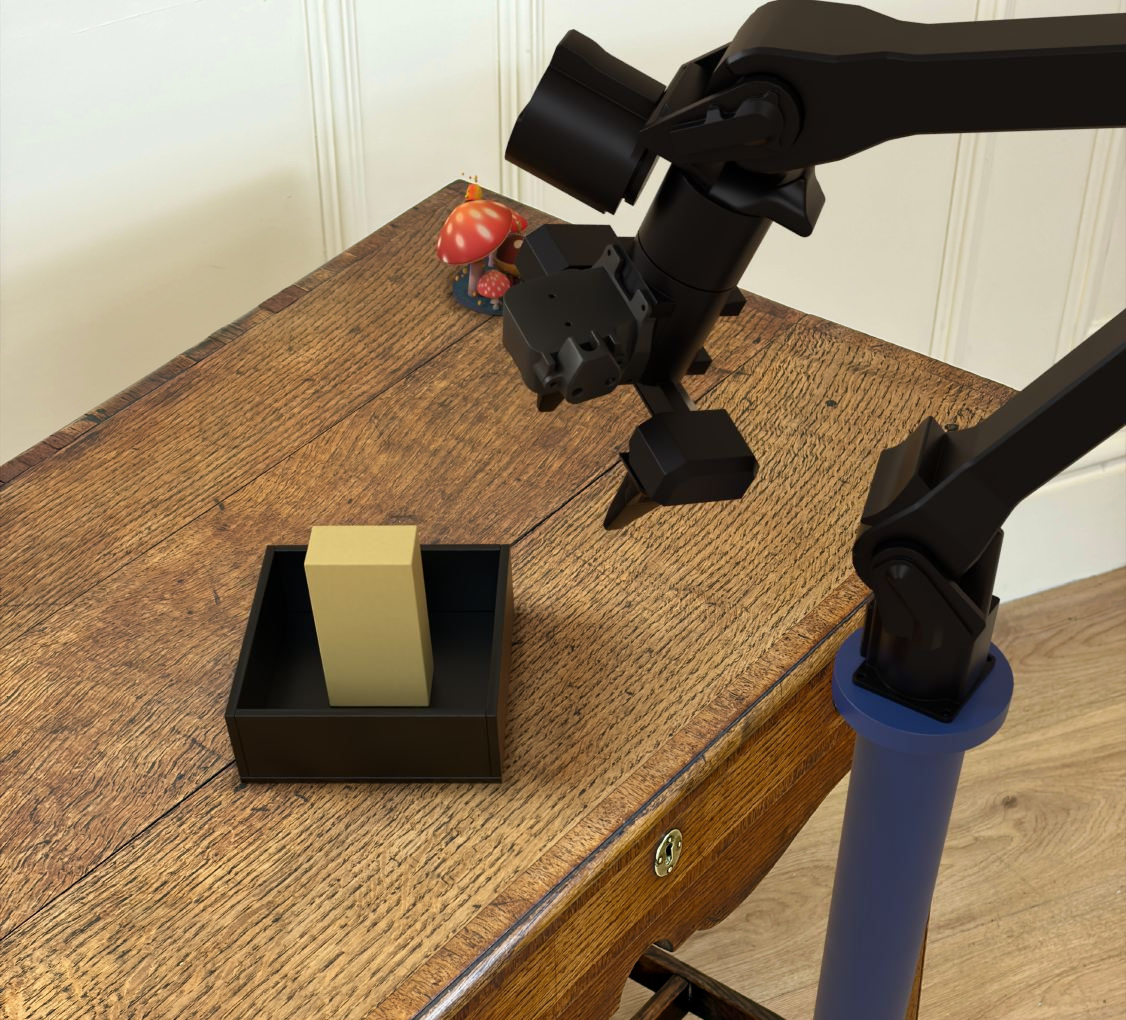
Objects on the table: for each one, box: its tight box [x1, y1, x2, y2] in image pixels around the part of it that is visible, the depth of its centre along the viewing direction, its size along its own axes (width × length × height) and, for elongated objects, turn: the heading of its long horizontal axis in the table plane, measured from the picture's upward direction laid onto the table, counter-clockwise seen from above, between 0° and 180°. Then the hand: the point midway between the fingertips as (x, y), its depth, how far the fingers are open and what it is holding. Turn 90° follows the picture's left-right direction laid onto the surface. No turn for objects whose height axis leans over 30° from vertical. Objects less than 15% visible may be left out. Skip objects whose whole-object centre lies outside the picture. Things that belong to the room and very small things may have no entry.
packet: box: [304, 524, 434, 706], centre depth 92 cm, size 4×6×11 cm, turn 88°
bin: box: [223, 543, 516, 784], centre depth 94 cm, size 15×15×6 cm
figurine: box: [436, 172, 529, 316], centre depth 127 cm, size 12×9×8 cm
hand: (577, 467), depth 91 cm, fingers open, 9 cm apart
